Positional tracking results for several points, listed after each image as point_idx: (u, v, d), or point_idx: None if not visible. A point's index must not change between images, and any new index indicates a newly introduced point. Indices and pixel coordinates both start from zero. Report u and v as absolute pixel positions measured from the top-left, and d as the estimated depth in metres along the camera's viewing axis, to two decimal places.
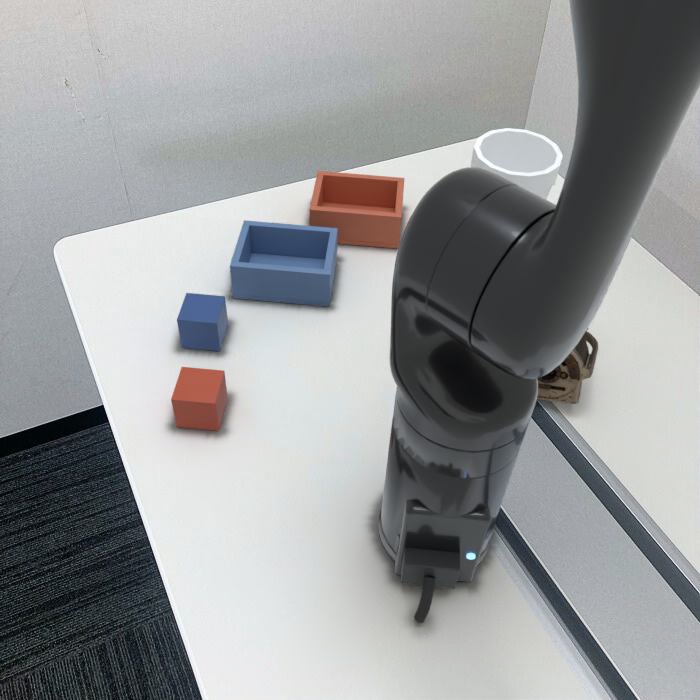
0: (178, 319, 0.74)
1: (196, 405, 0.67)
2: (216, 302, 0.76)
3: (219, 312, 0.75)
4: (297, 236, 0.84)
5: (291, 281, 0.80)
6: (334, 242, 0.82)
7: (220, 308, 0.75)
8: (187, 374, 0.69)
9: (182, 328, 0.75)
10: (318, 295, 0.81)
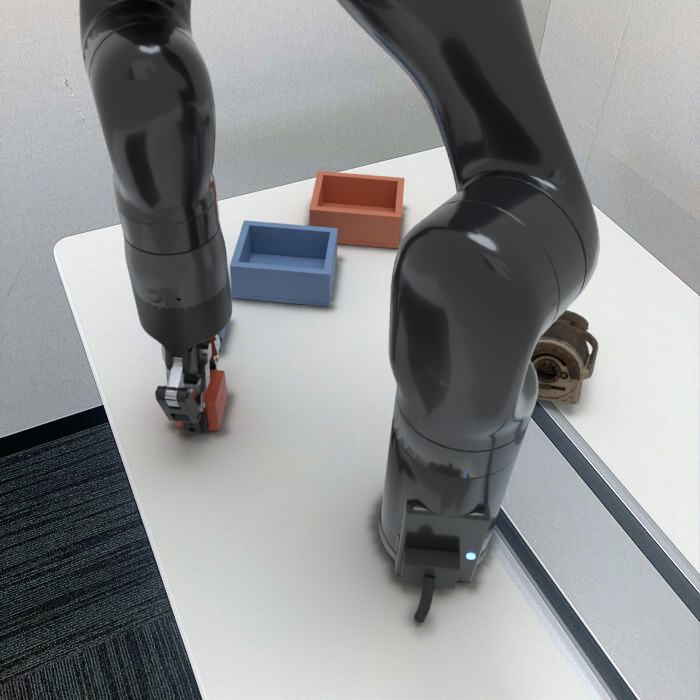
0: None
1: None
2: None
3: None
4: (297, 236, 0.84)
5: (291, 281, 0.80)
6: (334, 242, 0.82)
7: None
8: None
9: None
10: (318, 295, 0.81)
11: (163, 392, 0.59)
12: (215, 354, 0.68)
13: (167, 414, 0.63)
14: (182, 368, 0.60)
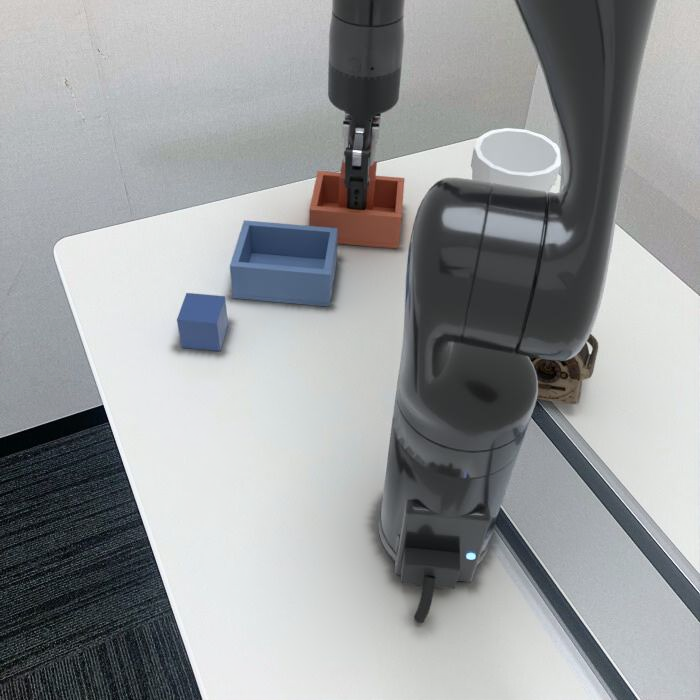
0: (178, 319, 0.74)
1: None
2: (216, 302, 0.76)
3: (219, 312, 0.75)
4: (297, 236, 0.84)
5: (291, 281, 0.80)
6: (334, 242, 0.82)
7: (220, 308, 0.75)
8: None
9: (182, 328, 0.75)
10: (318, 295, 0.81)
11: (351, 150, 0.78)
12: None
13: (346, 177, 0.81)
14: (363, 135, 0.79)
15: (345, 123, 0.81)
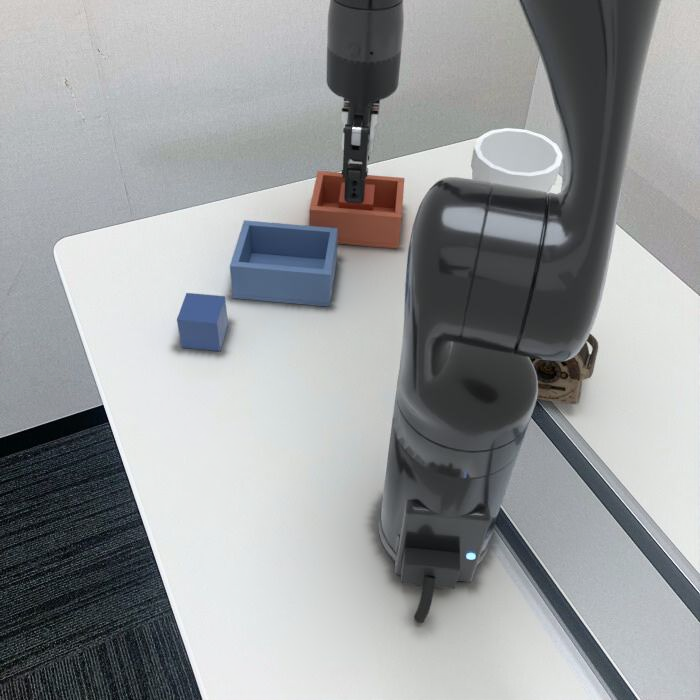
0: (178, 319, 0.74)
1: (358, 206, 0.88)
2: (216, 302, 0.76)
3: (219, 312, 0.75)
4: (297, 236, 0.84)
5: (291, 281, 0.80)
6: (334, 242, 0.82)
7: (220, 308, 0.75)
8: None
9: (182, 328, 0.75)
10: (318, 295, 0.81)
11: (350, 126, 0.76)
12: None
13: (344, 162, 0.78)
14: (363, 117, 0.77)
15: (344, 108, 0.80)
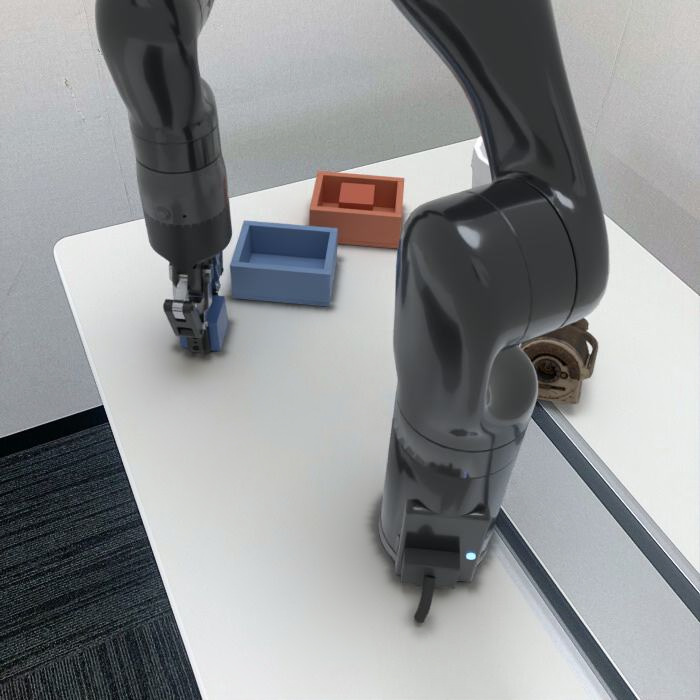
0: None
1: (358, 206, 0.88)
2: (216, 302, 0.76)
3: (219, 312, 0.75)
4: (297, 236, 0.84)
5: (291, 281, 0.80)
6: (334, 242, 0.82)
7: (220, 308, 0.75)
8: (347, 187, 0.90)
9: None
10: (318, 295, 0.81)
11: (170, 304, 0.66)
12: (217, 279, 0.75)
13: (173, 328, 0.70)
14: (187, 284, 0.67)
15: (172, 266, 0.69)
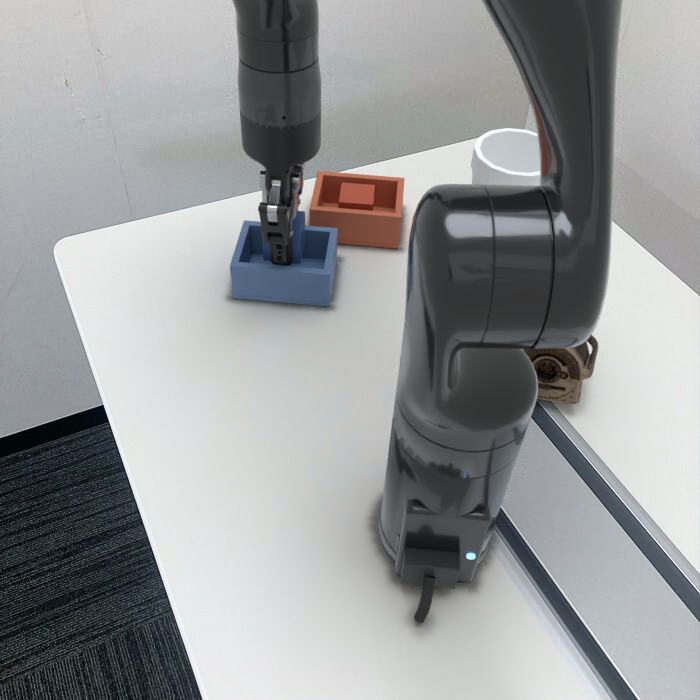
0: None
1: (358, 206, 0.88)
2: (297, 216, 0.80)
3: (301, 225, 0.79)
4: None
5: (291, 281, 0.80)
6: (334, 242, 0.82)
7: (302, 221, 0.79)
8: (347, 187, 0.90)
9: None
10: (318, 295, 0.81)
11: (265, 206, 0.70)
12: (299, 193, 0.78)
13: (264, 233, 0.73)
14: (280, 188, 0.71)
15: (263, 174, 0.73)
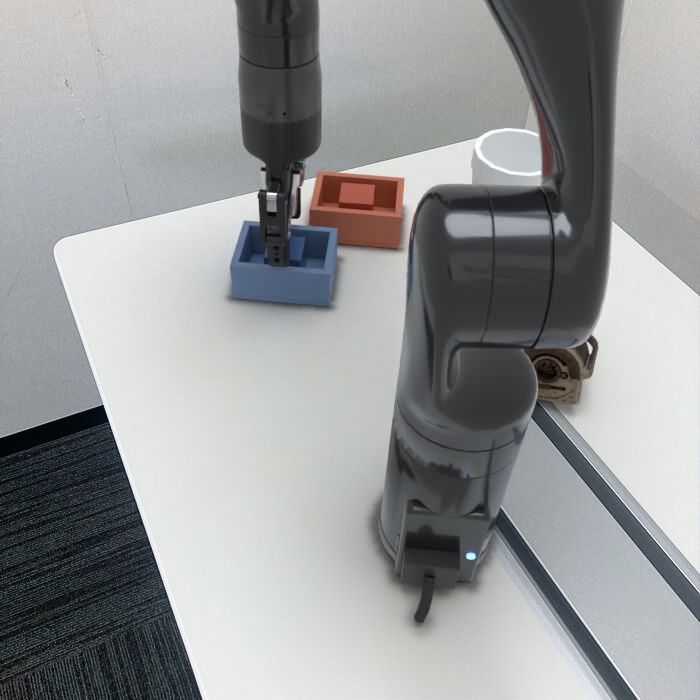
0: (265, 257, 0.80)
1: (358, 206, 0.88)
2: (298, 242, 0.82)
3: (302, 251, 0.81)
4: (297, 236, 0.84)
5: (291, 281, 0.80)
6: (334, 242, 0.82)
7: (302, 247, 0.81)
8: (347, 187, 0.90)
9: None
10: (318, 295, 0.81)
11: (265, 191, 0.69)
12: (301, 179, 0.79)
13: (261, 229, 0.71)
14: (280, 180, 0.71)
15: (263, 168, 0.73)
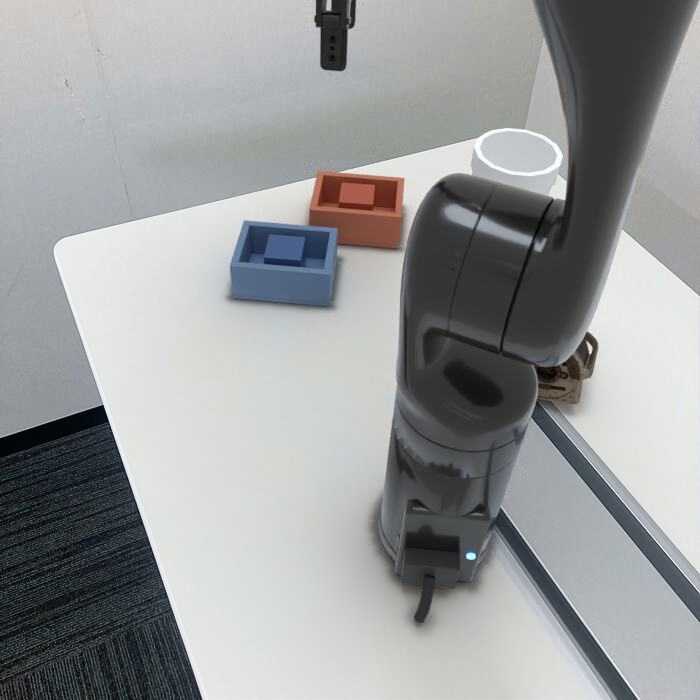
0: (265, 257, 0.80)
1: (358, 206, 0.88)
2: (298, 242, 0.82)
3: (302, 251, 0.81)
4: (297, 236, 0.84)
5: (291, 281, 0.80)
6: (334, 242, 0.82)
7: (302, 247, 0.81)
8: (347, 187, 0.90)
9: None
10: (318, 295, 0.81)
11: None
12: None
13: (318, 1, 0.58)
14: None
15: None
